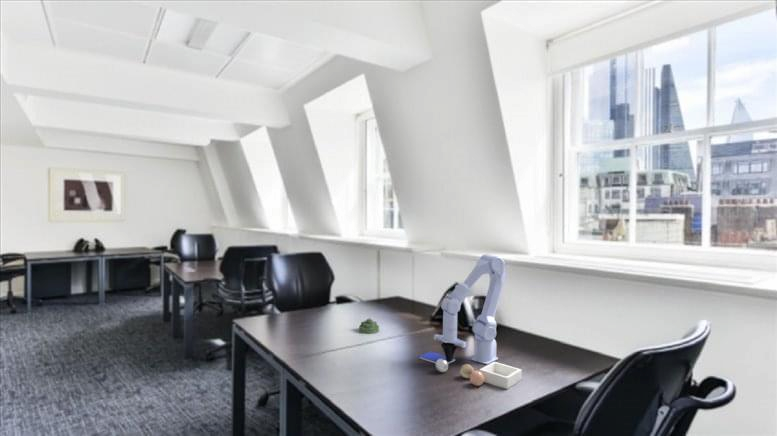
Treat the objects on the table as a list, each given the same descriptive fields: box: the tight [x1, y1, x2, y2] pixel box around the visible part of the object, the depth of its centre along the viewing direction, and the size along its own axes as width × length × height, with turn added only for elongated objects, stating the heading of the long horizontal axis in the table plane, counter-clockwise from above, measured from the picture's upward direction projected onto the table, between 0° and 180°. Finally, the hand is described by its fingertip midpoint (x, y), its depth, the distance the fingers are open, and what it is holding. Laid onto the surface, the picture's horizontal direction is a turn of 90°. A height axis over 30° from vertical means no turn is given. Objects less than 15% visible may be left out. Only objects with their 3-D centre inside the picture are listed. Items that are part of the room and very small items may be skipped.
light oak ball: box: [459, 363, 475, 379], centre depth 154 cm, size 5×5×5 cm
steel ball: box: [434, 359, 449, 373], centre depth 160 cm, size 5×5×5 cm
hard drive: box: [419, 351, 456, 365], centre depth 173 cm, size 2×8×12 cm
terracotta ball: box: [469, 370, 485, 387], centre depth 148 cm, size 5×5×5 cm
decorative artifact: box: [358, 317, 380, 335], centre depth 212 cm, size 10×7×10 cm
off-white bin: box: [478, 361, 523, 390], centre depth 153 cm, size 11×11×4 cm
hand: (449, 360), depth 169 cm, fingers closed
